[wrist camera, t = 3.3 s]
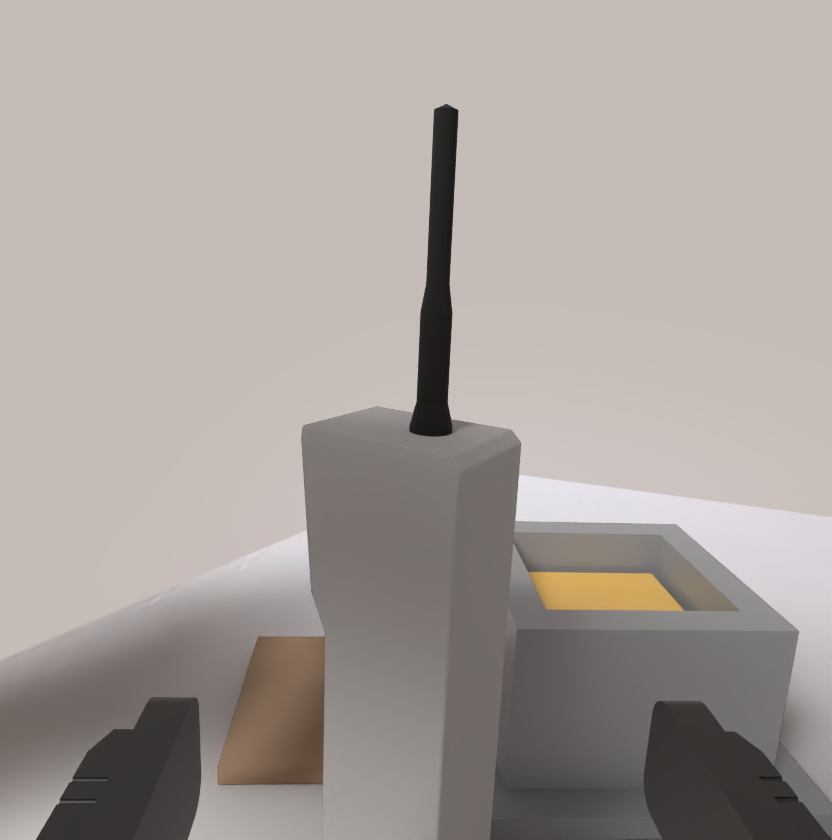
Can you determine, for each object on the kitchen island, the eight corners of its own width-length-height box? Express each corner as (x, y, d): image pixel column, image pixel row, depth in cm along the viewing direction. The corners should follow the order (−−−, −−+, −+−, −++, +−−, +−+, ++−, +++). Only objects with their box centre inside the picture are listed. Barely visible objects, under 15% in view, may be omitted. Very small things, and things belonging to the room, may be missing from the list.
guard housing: (456, 841, 26) (469, 650, 24) (428, 640, 39) (434, 509, 37) (837, 836, 27) (876, 653, 25) (680, 642, 40) (699, 514, 38)
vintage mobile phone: (364, 844, 25) (386, 126, 20) (484, 913, 23) (548, 113, 17) (296, 922, 22) (300, 97, 17) (427, 1013, 20) (483, 76, 14)
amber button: (543, 713, 29) (549, 649, 28) (510, 624, 36) (514, 571, 35) (709, 713, 29) (719, 650, 28) (644, 625, 36) (651, 573, 35)
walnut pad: (218, 784, 28) (217, 767, 28) (258, 649, 38) (258, 636, 37) (436, 782, 29) (437, 766, 28) (420, 650, 38) (421, 637, 38)
